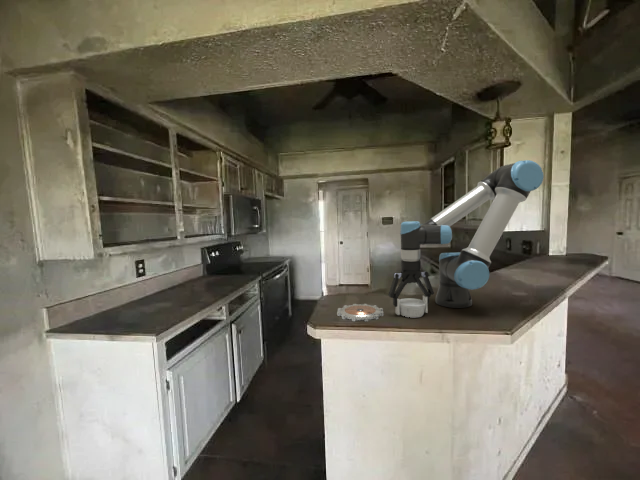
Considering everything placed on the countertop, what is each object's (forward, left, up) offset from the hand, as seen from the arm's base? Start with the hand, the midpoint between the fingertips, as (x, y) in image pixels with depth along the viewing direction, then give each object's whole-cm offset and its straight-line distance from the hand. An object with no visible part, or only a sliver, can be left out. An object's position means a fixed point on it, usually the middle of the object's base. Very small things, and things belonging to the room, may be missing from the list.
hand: (411, 312), depth 129 cm
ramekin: (0, 0, -1) cm, 1 cm away
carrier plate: (+20, -6, -1) cm, 21 cm away
